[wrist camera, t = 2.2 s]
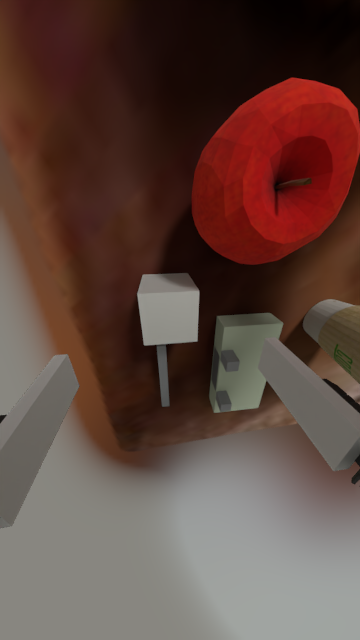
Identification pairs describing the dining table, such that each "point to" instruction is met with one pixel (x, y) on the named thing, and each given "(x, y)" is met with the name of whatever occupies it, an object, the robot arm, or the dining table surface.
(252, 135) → the apple
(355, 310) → the coffee cup
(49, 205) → the dining table surface
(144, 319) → the gray rectangular prism
